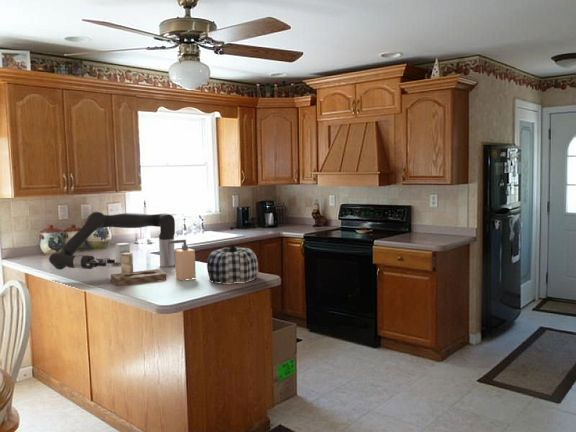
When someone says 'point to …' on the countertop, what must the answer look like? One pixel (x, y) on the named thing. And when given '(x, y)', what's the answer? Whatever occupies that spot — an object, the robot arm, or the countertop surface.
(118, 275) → the walnut keyhole board
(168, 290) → the countertop surface
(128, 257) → the birch peg
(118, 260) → the supplement box
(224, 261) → the decorative pumpkin
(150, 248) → the countertop surface
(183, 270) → the soap dispenser
